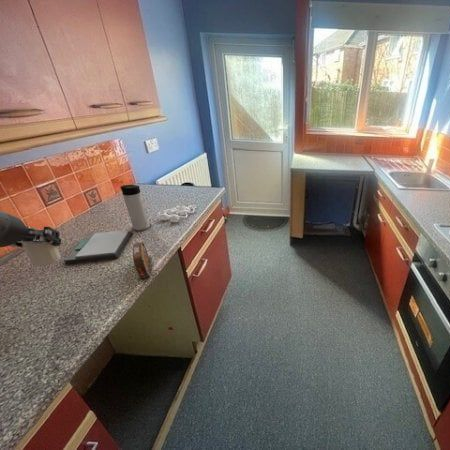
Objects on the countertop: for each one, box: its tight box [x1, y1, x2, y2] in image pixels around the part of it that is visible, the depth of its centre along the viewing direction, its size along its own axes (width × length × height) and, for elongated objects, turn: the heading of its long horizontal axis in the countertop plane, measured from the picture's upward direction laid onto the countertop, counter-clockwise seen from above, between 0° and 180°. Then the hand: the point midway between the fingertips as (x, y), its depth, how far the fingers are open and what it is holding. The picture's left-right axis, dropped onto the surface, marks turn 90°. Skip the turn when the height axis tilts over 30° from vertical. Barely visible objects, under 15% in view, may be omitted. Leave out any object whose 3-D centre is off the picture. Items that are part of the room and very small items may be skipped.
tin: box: [132, 241, 151, 279], centre depth 83 cm, size 15×3×8 cm, turn 30°
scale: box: [63, 229, 133, 265], centre depth 93 cm, size 15×18×3 cm
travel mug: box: [120, 184, 151, 232], centre depth 104 cm, size 6×7×20 cm
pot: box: [21, 237, 62, 267], centre depth 67 cm, size 6×6×8 cm
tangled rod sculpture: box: [156, 204, 198, 223], centre depth 121 cm, size 19×14×4 cm
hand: (44, 243), depth 68 cm, fingers closed on pot, 5 cm apart
